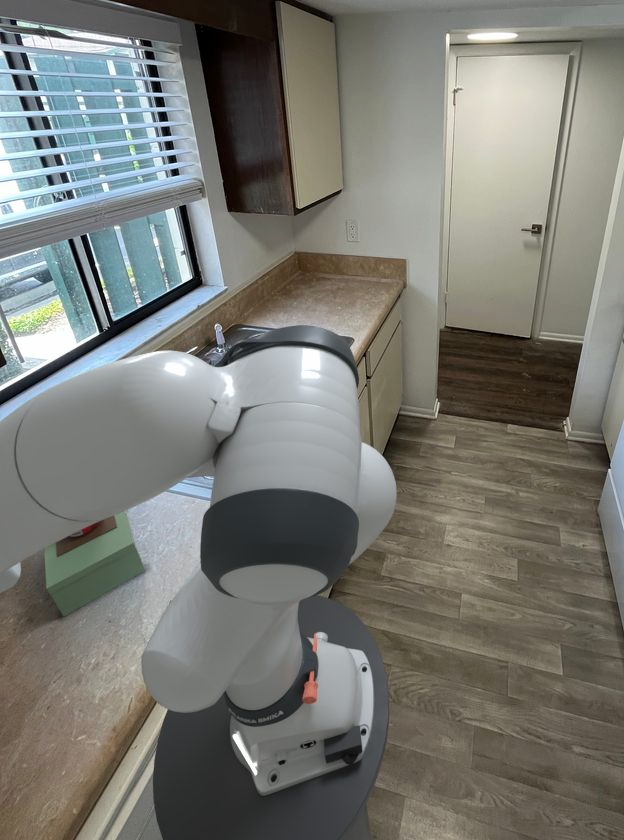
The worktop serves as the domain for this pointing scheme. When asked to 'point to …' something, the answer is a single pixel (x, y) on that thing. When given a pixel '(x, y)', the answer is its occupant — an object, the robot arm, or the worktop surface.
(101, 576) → the green lidded gift box
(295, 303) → the worktop surface
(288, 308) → the worktop surface
